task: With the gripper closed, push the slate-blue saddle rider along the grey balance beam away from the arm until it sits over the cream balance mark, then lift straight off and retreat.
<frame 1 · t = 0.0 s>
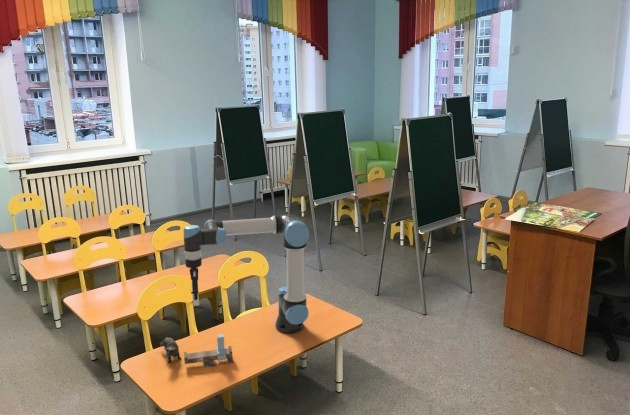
hand: (195, 299, 241), 28 cm above the table, fingers open, 13 cm apart
rider: (220, 346, 237), point 9 cm above the table, slide at 0.0 cm
beam: (208, 363, 237), on the table
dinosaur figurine: (171, 358, 242), on the table
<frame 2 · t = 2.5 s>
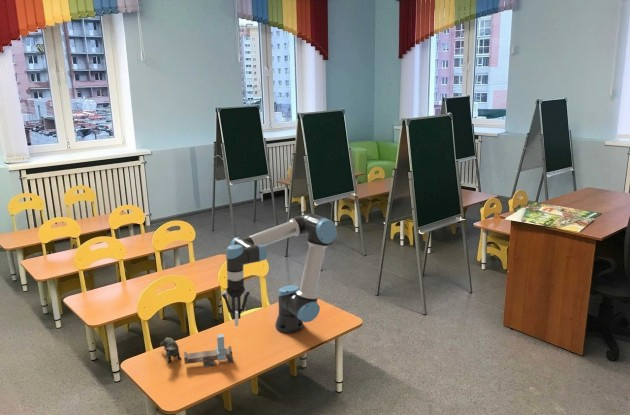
hand: (236, 324, 236), 19 cm above the table, fingers closed
nothing on the table moved.
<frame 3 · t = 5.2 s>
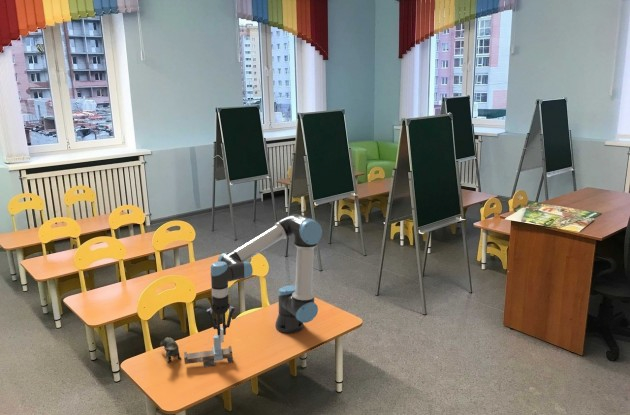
hand: (221, 341, 236), 11 cm above the table, fingers closed
rider: (217, 346, 236), point 9 cm above the table, slide at 1.6 cm, touching gripper
everything else where it was.
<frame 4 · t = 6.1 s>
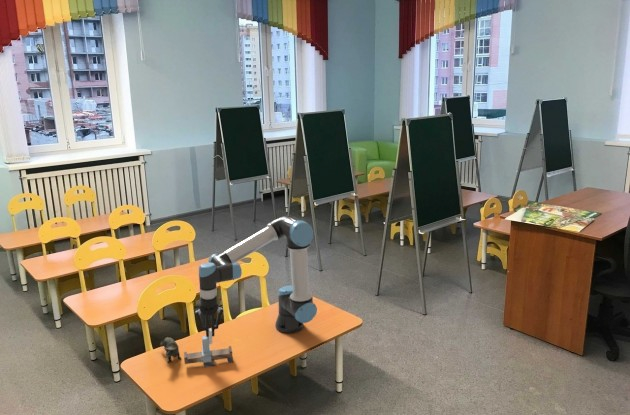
hand: (210, 342, 235), 11 cm above the table, fingers closed
rider: (206, 347, 235), point 9 cm above the table, slide at 6.9 cm, touching gripper
everything else where it was.
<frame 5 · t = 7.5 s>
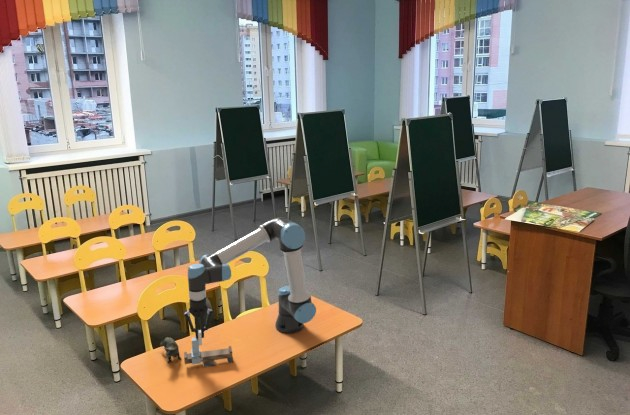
hand: (200, 344, 234), 11 cm above the table, fingers closed
rider: (195, 349, 234), point 9 cm above the table, slide at 11.7 cm, touching gripper
everything else where it was.
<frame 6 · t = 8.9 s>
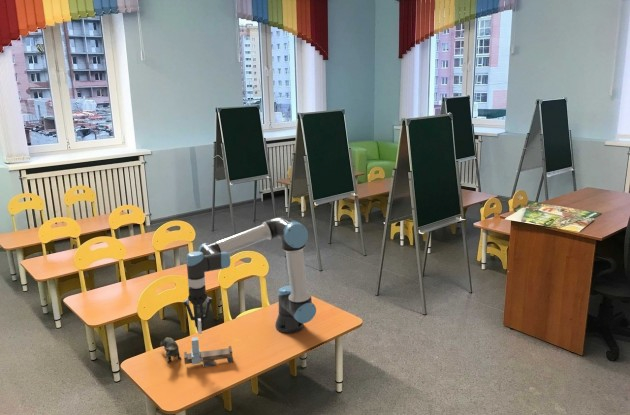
hand: (199, 332, 232), 17 cm above the table, fingers closed
rider: (195, 349, 234), point 9 cm above the table, slide at 11.7 cm
everything else where it was.
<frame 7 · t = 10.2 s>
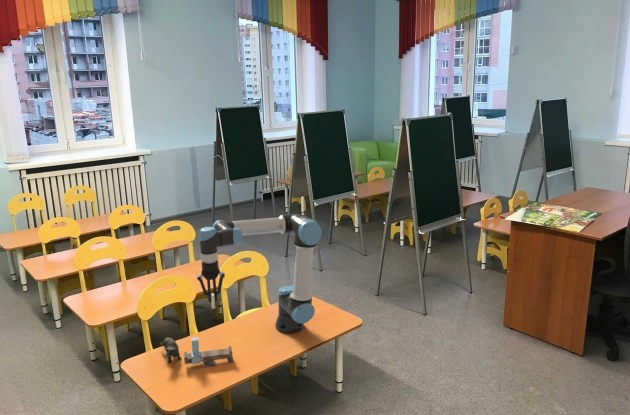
hand: (213, 307, 236), 27 cm above the table, fingers closed
nothing on the table moved.
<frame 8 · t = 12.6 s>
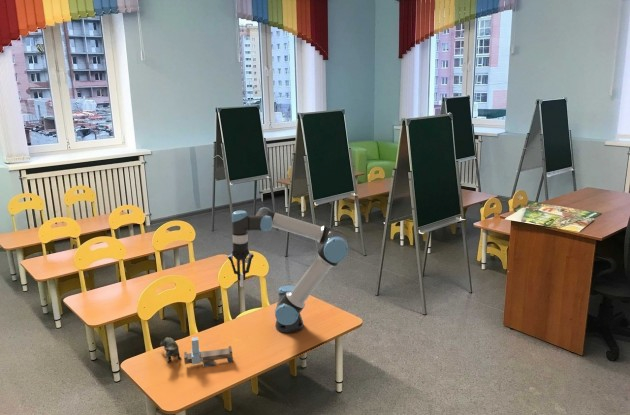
hand: (241, 285, 254), 29 cm above the table, fingers closed
nothing on the table moved.
at the end: rider slide at 11.7 cm; rider touching nothing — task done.
